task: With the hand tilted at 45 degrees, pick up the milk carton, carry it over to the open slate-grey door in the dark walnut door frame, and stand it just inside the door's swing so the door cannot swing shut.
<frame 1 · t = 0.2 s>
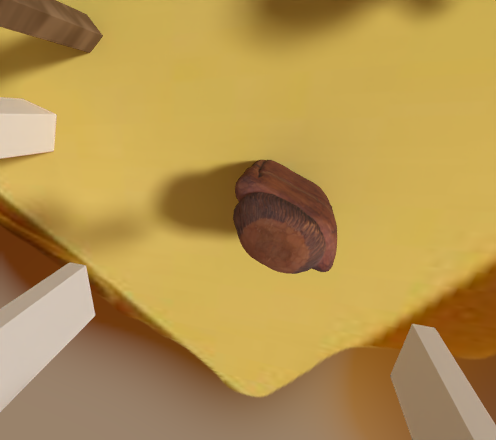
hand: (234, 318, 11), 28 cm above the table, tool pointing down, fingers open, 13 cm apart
milk: (40, 125, 42), on the table
wooden figurine: (290, 191, 37), on the table
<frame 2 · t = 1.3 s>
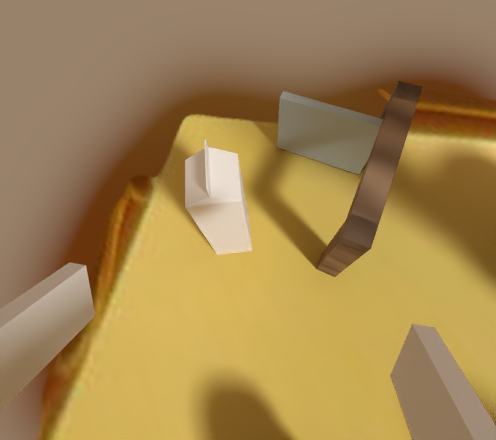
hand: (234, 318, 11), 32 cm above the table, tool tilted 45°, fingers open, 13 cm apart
door frame: (362, 173, 49), on the table
milk: (233, 236, 46), on the table
door: (325, 132, 45), point 6 cm above the table, hinge at 90.0°
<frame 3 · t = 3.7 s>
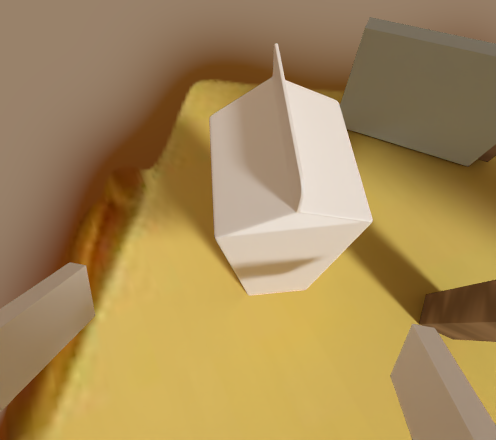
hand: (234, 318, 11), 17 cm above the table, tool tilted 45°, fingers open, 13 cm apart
door frame: (472, 164, 31), on the table
milk: (273, 264, 29), on the table
door: (427, 95, 27), point 6 cm above the table, hinge at 90.0°
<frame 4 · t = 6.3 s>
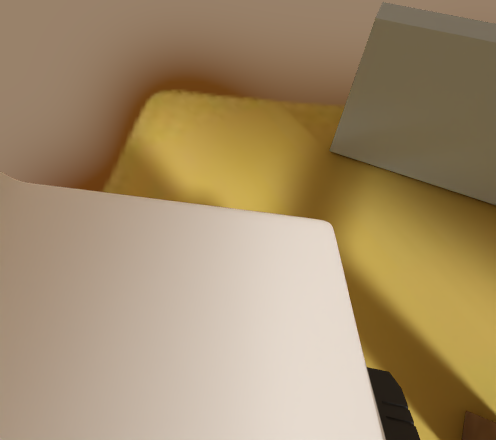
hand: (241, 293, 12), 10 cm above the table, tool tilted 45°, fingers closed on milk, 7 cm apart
milk: (244, 356, 20), on the table, touching gripper
door: (462, 117, 19), point 6 cm above the table, hinge at 90.0°
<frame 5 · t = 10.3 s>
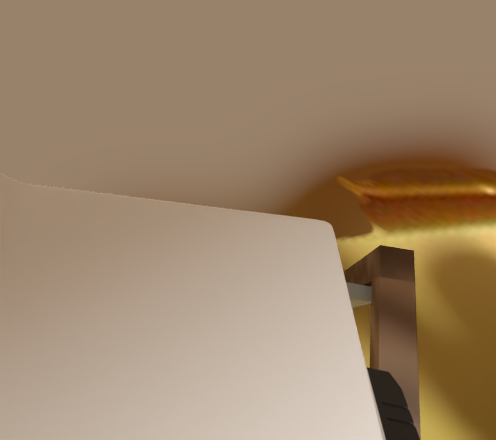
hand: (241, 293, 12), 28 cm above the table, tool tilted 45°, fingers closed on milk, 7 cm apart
door frame: (346, 305, 38), on the table
milk: (244, 356, 20), point 19 cm above the table, touching gripper
door: (292, 281, 34), point 6 cm above the table, hinge at 90.0°
when the fingers open (11 cm above the table, at t = 14.2 s): milk drops 1 cm, on the table.
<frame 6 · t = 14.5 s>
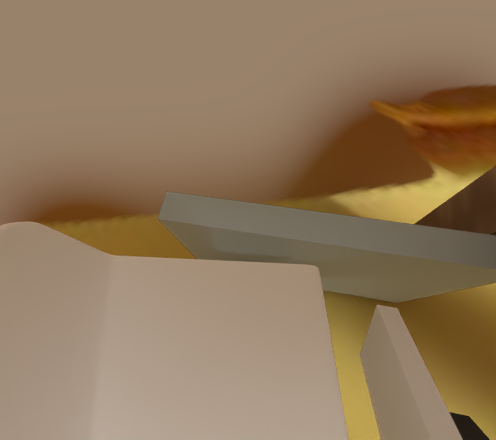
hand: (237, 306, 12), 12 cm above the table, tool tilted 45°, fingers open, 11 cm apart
door frame: (402, 295, 22), on the table
milk: (246, 356, 21), on the table
door: (311, 248, 18), point 6 cm above the table, hinge at 90.0°
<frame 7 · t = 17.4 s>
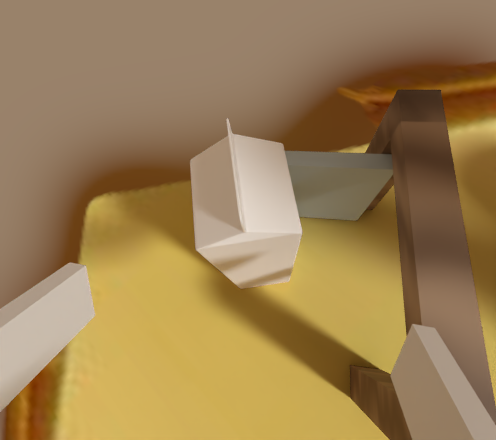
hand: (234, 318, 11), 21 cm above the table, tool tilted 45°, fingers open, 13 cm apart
door frame: (360, 216, 34), on the table
milk: (261, 261, 33), on the table
door: (295, 182, 29), point 6 cm above the table, hinge at 90.0°
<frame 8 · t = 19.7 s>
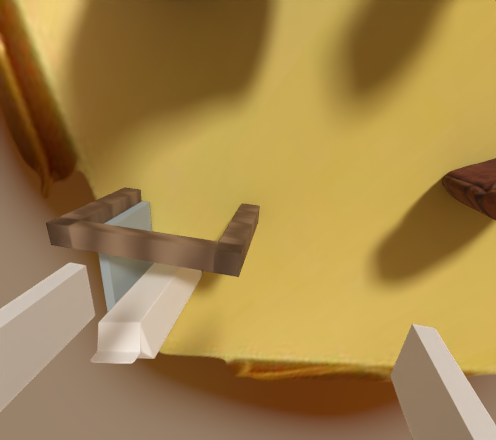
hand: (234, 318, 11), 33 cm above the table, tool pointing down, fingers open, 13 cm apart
door frame: (146, 198, 47), on the table
milk: (185, 262, 51), on the table
wooden figurine: (487, 178, 37), on the table
door: (125, 257, 45), point 6 cm above the table, hinge at 90.0°
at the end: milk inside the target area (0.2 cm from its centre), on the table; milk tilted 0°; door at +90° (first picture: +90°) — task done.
